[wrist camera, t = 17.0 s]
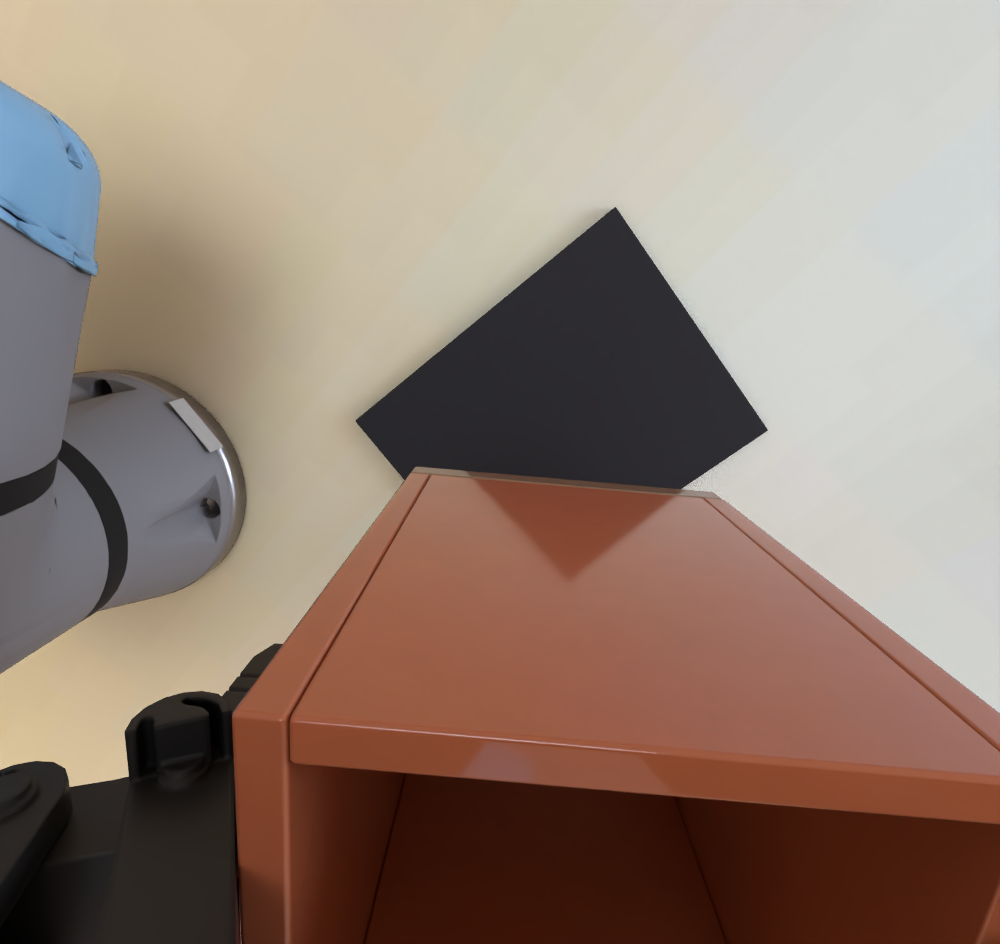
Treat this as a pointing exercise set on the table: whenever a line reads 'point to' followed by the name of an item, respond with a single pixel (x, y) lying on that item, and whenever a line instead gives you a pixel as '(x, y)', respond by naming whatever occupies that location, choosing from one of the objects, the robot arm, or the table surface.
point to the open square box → (605, 739)
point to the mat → (573, 381)
